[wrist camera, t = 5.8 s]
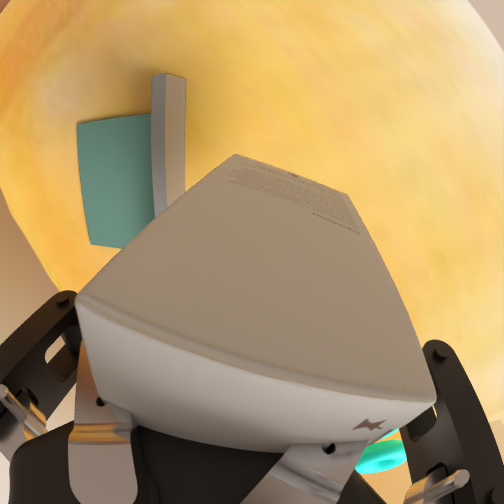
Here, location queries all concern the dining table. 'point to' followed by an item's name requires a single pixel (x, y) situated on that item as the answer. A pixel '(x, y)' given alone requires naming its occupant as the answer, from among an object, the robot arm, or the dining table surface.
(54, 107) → the dining table surface
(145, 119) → the mat
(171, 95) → the divider wall
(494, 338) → the dining table surface
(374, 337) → the small box
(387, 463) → the donuts
